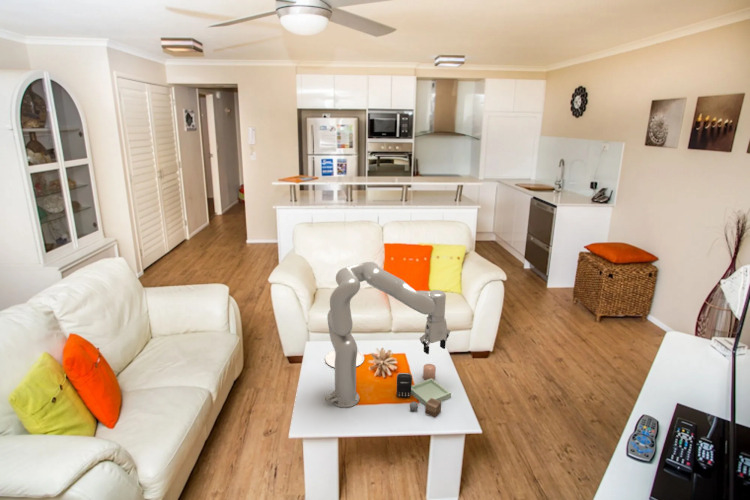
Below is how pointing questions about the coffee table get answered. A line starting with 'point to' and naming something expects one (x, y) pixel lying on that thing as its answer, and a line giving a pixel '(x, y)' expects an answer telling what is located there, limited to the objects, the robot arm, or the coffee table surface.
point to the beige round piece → (429, 371)
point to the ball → (413, 405)
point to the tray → (429, 391)
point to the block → (433, 407)
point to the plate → (331, 358)
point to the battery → (404, 385)
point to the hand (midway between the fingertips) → (434, 350)
